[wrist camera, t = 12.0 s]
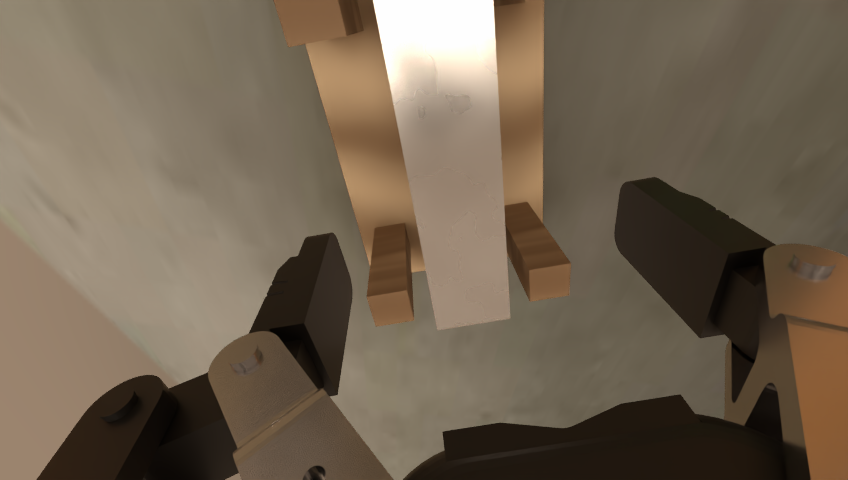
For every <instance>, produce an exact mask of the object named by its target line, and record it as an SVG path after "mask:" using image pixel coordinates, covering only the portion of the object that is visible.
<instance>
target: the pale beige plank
mask: <svg viewBox="0 0 848 480" xmlns="http://www.w3.org/2000/svg"><path fill="white" fill-rule="evenodd" d="M373 2H374V7H375V12H376V17H377V23H378V28H379V33H380V38H381V43H382V48H383V53H384V59H385V64H386V69H387V74H388V79H389V84H390V89H391V94H392V100H393V105H394V110H395V115H396V120H397V125H398V130H399V135H400V141H401V146H402V151H403V156H404V161H405V166H406V171H407V176H408V182H409V187H410V192H411V197H412V202H413V207H414V212H415V218H416V223H417V228H418V233H419V238H420V243H421V248H422V253H423V259H424V264H425V269H426V274H427V279H428V284H429V289H430V294H431V300H432V305H433V310H434V315H435V320H436V325H437V330H442V329H448V328H455V327H461V326H467V325H473V324H479V323H486V322H492V321H498V320H504V319H510V305H509V286H508V267H507V248H506V229H505V210H504V191H503V172H502V153H501V134H500V115H499V96H498V77H497V58H496V39H495V20H494V1H493V0H373Z"/></svg>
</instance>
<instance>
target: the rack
mask: <svg viewBox="0 0 848 480" xmlns="http://www.w3.org/2000/svg"><path fill="white" fill-rule="evenodd" d="M493 1H494V20H495V39H496V58H497V77H498V96H499V115H500V134H501V153H502V172H503V191H504V210H505V229H506V248H507V256H509V258H510V260H511V262H512V264H513V266H514V268H515V271H516V273H517V275H518V277H519V279H520V281H521V284H522V286H523V288H524V290H525V292H526V294H527V296H528V299H529V301H537V300H543V299H549V298H555V297H561V296H567V295H569V287H570V269H571V263H570V261H569V260H568V259H567V257H566V256H565V254H564V253H563V252H562V250H561V249H560V247H559V246H558V244H557V243H556V242H555V240H554V239H553V237H552V236H551V235H550V233H549V232H548V230H547V229H546V227H545V226H544V225H543V91H544V0H493ZM274 3H275V6H276V9H277V13H278V16H279V19H280V22H281V25H282V29H283V32H284V35H285V38H286V41H287V45H288V47H292V46H297V45H302V44H306V48H307V51H308V55H309V58H310V62H311V65H312V68H313V72H314V75H315V79H316V82H317V86H318V89H319V93H320V96H321V99H322V103H323V106H324V110H325V113H326V117H327V120H328V123H329V127H330V130H331V134H332V137H333V141H334V144H335V147H336V151H337V154H338V158H339V161H340V165H341V168H342V172H343V175H344V178H345V182H346V185H347V189H348V192H349V196H350V199H351V202H352V206H353V209H354V213H355V216H356V220H357V223H358V226H359V230H360V233H361V237H362V240H363V244H364V247H365V251H366V254H367V257H368V261H369V264H370V273H369V281H368V290H367V300H368V303H369V306H370V309H371V312H372V316H373V319H374V322H375V325H376V326H383V325H389V324H395V323H401V322H407V321H413V320H414V310H413V290H412V272H417V271H423V270H426V269H425V264H424V259H423V253H422V248H421V243H420V238H419V233H418V228H417V223H416V218H415V212H414V207H413V202H412V197H411V192H410V187H409V182H408V176H407V171H406V166H405V161H404V156H403V151H402V146H401V141H400V135H399V130H398V125H397V120H396V115H395V110H394V105H393V100H392V94H391V89H390V84H389V79H388V74H387V69H386V64H385V59H384V53H383V48H382V43H381V38H380V33H379V28H378V23H377V17H376V12H375V7H374V2H373V0H274Z"/></svg>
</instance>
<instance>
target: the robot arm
mask: <svg viewBox="0 0 848 480" xmlns="http://www.w3.org/2000/svg"><path fill="white" fill-rule="evenodd" d="M615 242H616V245H617V248H618V250H619V251H620V253H621V254H622V255H623V256H624V257H625V258H626V259H627V260H628V261H629V263H630V264H631V265H632V266H633V267H634V268H635V269H636V270H637V271H638V272H639V273H640V274H641V275H642V277H643V278H644V279H645V280H646V281H647V282H648V283H649V284H650V285H651V286H652V287H653V288H654V289H655V290H656V292H657V293H658V294H659V295H660V296H661V297H662V298H663V299H664V300H665V301H666V302H667V303H668V304H669V305H670V307H671V308H672V309H673V310H674V311H675V312H676V313H677V314H678V315H679V316H680V317H681V318H682V319H683V320H684V322H685V323H686V324H687V325H688V326H689V327H690V328H691V329H692V330H693V331H694V332H695V333H696V334H697V336H698V337H699V338H704V337H711V336H717V335H723V334H725V335H726V336H727V337H728V338H729V341H728V344H727V346H726V350H725V412H724V420H723V419H720V418H716V417H710V416H705V415H699V414H695V413H694V412H693V411H692V409H691V408H690V407H689V405H688V404H687V403H686V401H685V400H684V399H683V397H682V396H681V395H674V396H668V397H661V398H655V399H649V400H642V401H636V402H629V403H623V404H620V405H617V406H615V407H613V408H611V409H609V410H607V411H604V412H602V413H600V414H598V415H596V416H594V417H591V418H589V419H587V420H585V421H583V422H581V423H578V424H576V425H574V426H572V427H569V428H552V427H541V426H530V425H519V424H509V423H495V424H489V425H482V426H476V427H470V428H463V429H457V430H450V431H444V432H443V440H444V449H445V450H444V451H442V452H440V453H438V454H436V455H434V456H432V457H431V458H429V459H427V460H426V461H424V462H423V463H421V464H420V465H419V466H417V467H416V468H415V469H414V470H413V471H411V472H410V473H409V474H408V475H407V476H406V477H405V478H404V479H403V480H848V257H847V256H844V255H842V254H840V253H837V252H835V251H832V250H828V249H825V248H821V247H817V246H812V245H805V244H780V245H775V244H774V243H772V242H770V241H769V240H767V239H765V238H764V237H762V236H761V235H759V234H757V233H756V232H754V231H752V230H751V229H749V228H747V227H746V226H744V225H743V224H741V223H739V222H738V221H736V220H734V219H733V218H732V219H730V218H729V216H728V215H726V214H725V213H723V212H721V211H720V210H716V208H715V207H713V206H712V205H710V204H708V203H707V202H705V201H703V200H702V199H700V198H698V197H694V196H691V195H688V194H685V193H682V192H679V191H678V190H676V189H674V188H673V187H671V186H670V185H668V184H667V183H665V182H663V181H662V180H660V179H659V178H656V177H652V178H647V179H641V180H635V181H629V182H625V183H624V184H623V185H622V187H621V189H620V194H619V202H618V209H617V217H616V224H615ZM351 303H352V284H351V279H350V275H349V272H348V269H347V266H346V263H345V260H344V257H343V255H342V252H341V249H340V246H339V243H338V240H337V238H336V236H335V234H334V233H327V234H321V235H316V236H310V237H306V238H305V240H304V242H303V245H302V247H301V250H300V252H299V255H298V256H296V257H290V258H289V259H288V260H287V261H286V262H285V263H284V264H283V265H282V266H281V267H280V268H279V269H278V271H277V273H276V275H275V277H274V280H273V282H272V285H271V286H270V288H269V291H268V293H267V297H265V299H264V302H263V304H262V306H261V308H260V310H259V312H258V315H257V317H256V319H255V321H254V323H253V326H252V328H251V330H250V332H249V334H247V335H244V336H242V337H240V338H238V339H236V340H234V341H233V342H231V343H230V344H228V345H227V346H226V347H225V348H223V349H222V350H221V351H220V352H219V353H218V355H217V356H216V357H215V358H214V360H213V361H212V363H211V365H210V367H209V371H208V373H206V374H203V375H201V376H198V377H196V378H193V379H191V380H189V381H186V382H184V383H181V384H179V385H176V386H174V387H172V388H169V389H168V387H167V386H166V385H165V384H164V383H163V381H162V380H161V379H160V378H159V377H157V376H154V375H144V376H139V377H135V378H132V379H130V380H127V381H125V382H123V383H121V384H119V385H117V386H116V387H114V388H112V389H111V390H109V391H108V392H106V393H105V394H104V395H103V396H101V397H100V398H99V399H98V400H97V401H95V402H94V403H93V404H92V406H90V407H89V408H88V410H87V411H86V412H85V413H84V415H83V416H82V417H81V419H80V420H79V421H78V423H77V424H76V426H75V427H74V428H73V430H72V431H71V433H70V434H69V435H68V437H67V438H66V439H65V441H64V442H63V444H62V445H61V446H60V448H59V449H58V451H57V452H56V453H55V455H54V456H53V458H52V459H51V460H50V462H49V463H48V464H47V466H46V467H45V469H44V470H43V471H42V473H41V474H40V476H39V477H38V478H37V480H225V479H227V478H229V477H231V476H233V475H235V474H237V473H239V474H240V476H241V479H242V480H393V478H392V477H391V476H390V474H389V473H388V472H387V470H386V469H385V468H384V467H383V465H382V464H381V463H380V461H379V460H378V459H377V458H376V456H375V455H374V454H373V452H372V451H371V450H370V448H369V447H368V446H367V445H366V443H365V442H364V441H363V439H362V438H361V437H360V435H359V434H358V433H357V432H356V430H355V429H354V428H353V426H352V425H351V424H350V423H349V421H348V420H347V419H346V417H345V416H344V415H343V413H342V412H341V411H340V410H339V408H338V407H337V406H336V404H335V403H334V402H333V401H332V399H331V398H330V397H329V396H335V395H338V388H339V381H340V375H341V368H342V362H343V355H344V349H345V342H346V335H347V329H348V322H349V316H350V309H351Z"/></svg>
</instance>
